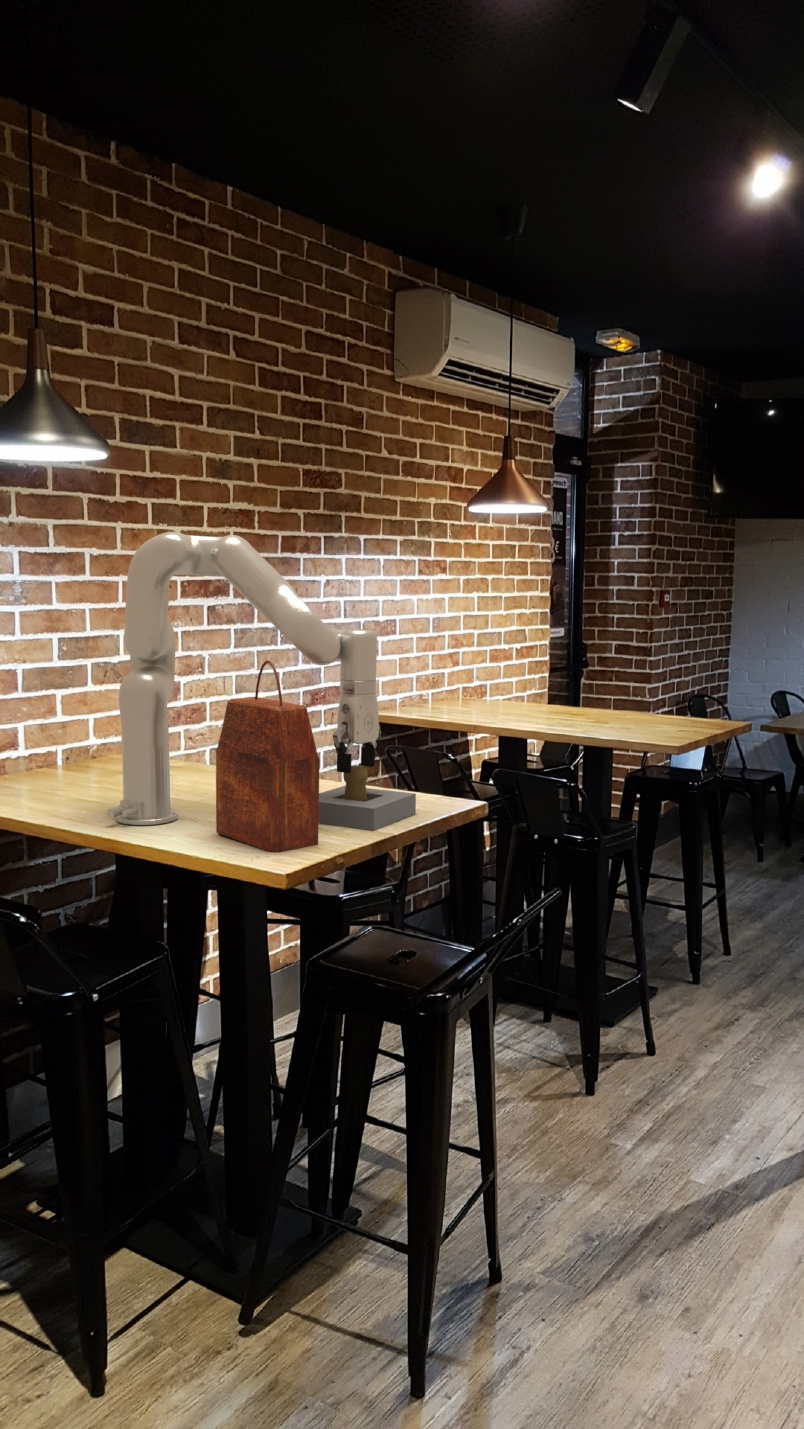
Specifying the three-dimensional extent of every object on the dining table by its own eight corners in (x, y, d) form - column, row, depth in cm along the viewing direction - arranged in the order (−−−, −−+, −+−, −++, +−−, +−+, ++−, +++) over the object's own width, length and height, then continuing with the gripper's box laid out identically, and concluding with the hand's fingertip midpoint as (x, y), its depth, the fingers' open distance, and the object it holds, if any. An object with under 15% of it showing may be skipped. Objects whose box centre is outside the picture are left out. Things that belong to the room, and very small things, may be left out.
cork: (342, 814, 226) (342, 764, 225) (370, 815, 226) (370, 764, 225) (340, 821, 220) (340, 769, 219) (369, 821, 220) (369, 769, 219)
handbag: (273, 855, 193) (275, 665, 188) (215, 834, 207) (215, 657, 203) (318, 846, 200) (321, 662, 195) (259, 827, 214) (260, 655, 210)
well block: (373, 830, 212) (373, 808, 211) (299, 820, 220) (299, 799, 220) (415, 814, 228) (415, 793, 227) (344, 805, 236) (344, 785, 236)
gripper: (351, 692, 211) (350, 776, 213) (393, 686, 226) (391, 765, 228) (320, 690, 215) (318, 773, 217) (363, 684, 230) (361, 762, 232)
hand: (356, 769), depth 223 cm, fingers open, 9 cm apart
